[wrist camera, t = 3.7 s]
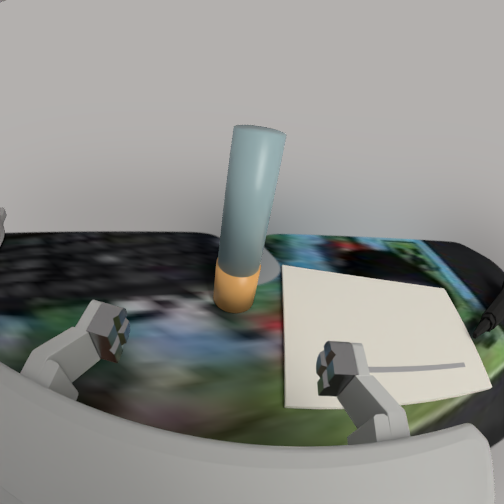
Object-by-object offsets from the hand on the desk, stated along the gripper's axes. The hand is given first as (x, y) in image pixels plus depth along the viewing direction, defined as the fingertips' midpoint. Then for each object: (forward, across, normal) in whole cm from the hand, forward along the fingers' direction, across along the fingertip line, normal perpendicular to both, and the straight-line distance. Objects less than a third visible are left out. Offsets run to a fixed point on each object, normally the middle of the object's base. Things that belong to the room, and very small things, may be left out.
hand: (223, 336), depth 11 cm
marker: (+9, 0, +7) cm, 12 cm away
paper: (+7, -14, +7) cm, 17 cm away
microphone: (+11, -33, +7) cm, 36 cm away
